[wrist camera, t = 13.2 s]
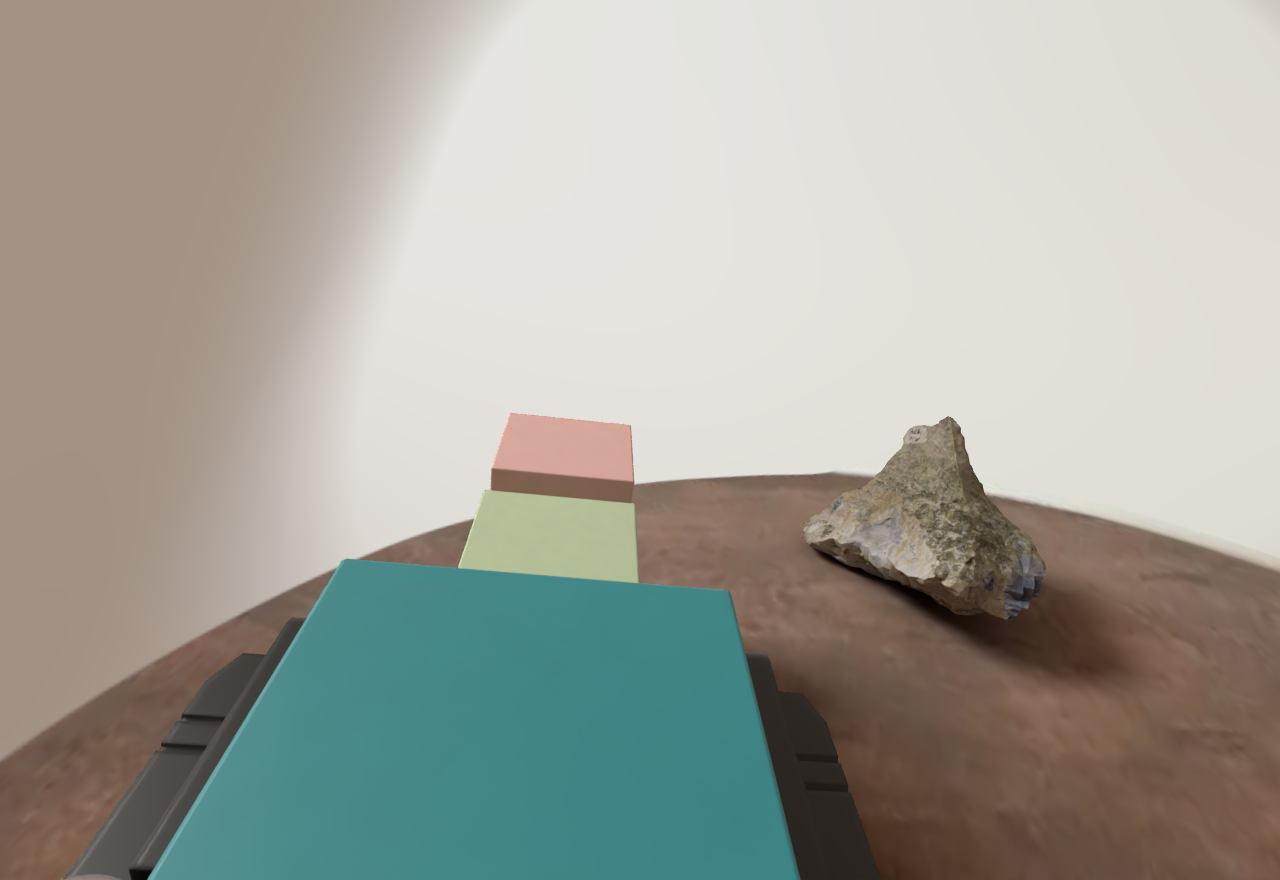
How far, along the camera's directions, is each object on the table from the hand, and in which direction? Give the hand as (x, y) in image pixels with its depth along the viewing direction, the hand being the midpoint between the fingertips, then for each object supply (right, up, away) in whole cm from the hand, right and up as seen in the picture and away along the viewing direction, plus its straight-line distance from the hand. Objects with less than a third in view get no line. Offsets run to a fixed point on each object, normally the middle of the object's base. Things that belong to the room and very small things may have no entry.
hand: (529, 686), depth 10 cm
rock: (+15, -4, +27) cm, 32 cm away
